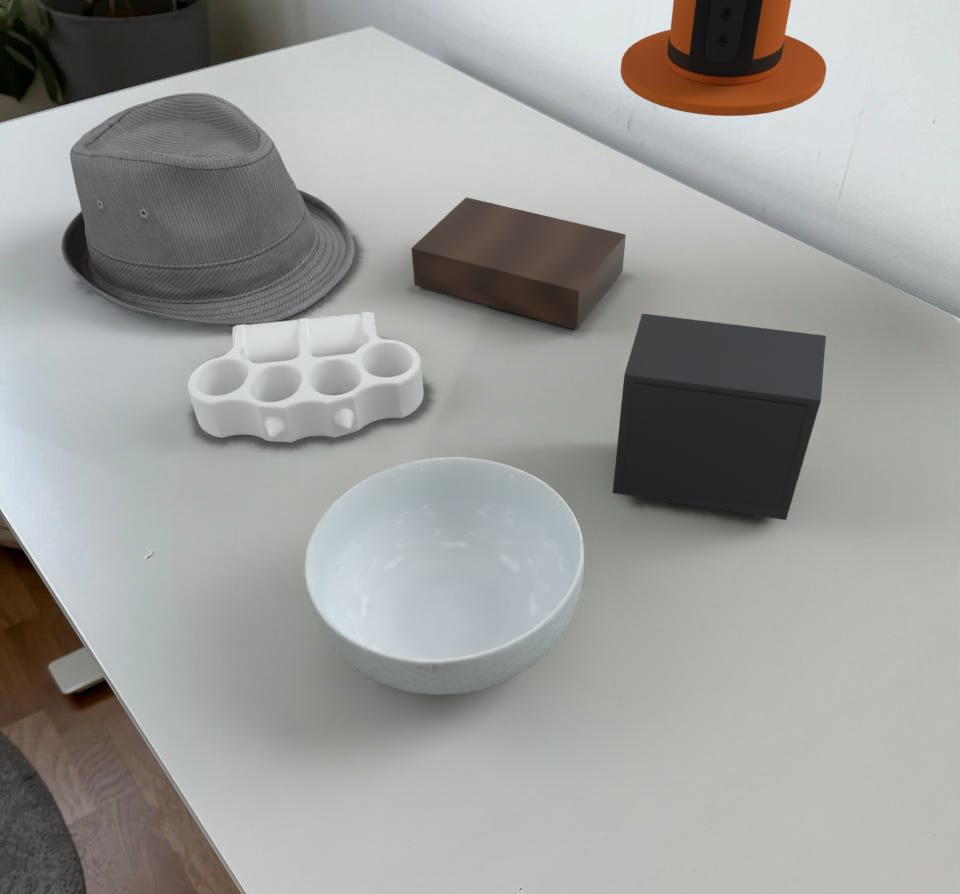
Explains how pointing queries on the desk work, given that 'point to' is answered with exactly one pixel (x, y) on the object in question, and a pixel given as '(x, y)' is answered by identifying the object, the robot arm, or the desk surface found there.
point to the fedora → (198, 218)
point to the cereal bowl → (445, 573)
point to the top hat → (766, 88)
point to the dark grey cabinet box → (717, 414)
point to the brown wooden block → (519, 262)
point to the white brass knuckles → (306, 380)
